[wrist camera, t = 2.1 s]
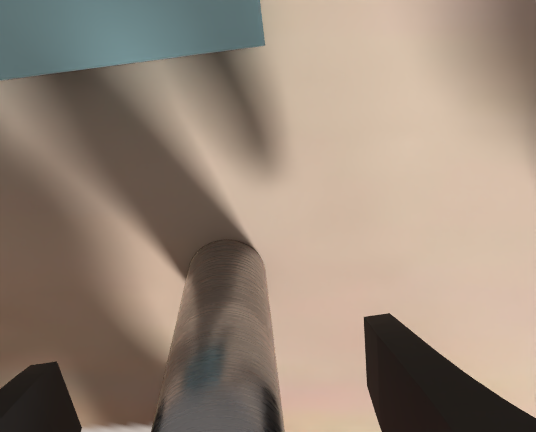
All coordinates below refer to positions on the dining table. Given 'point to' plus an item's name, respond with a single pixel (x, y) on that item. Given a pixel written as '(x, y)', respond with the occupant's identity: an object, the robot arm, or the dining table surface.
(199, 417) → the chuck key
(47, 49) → the block
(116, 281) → the dining table surface
